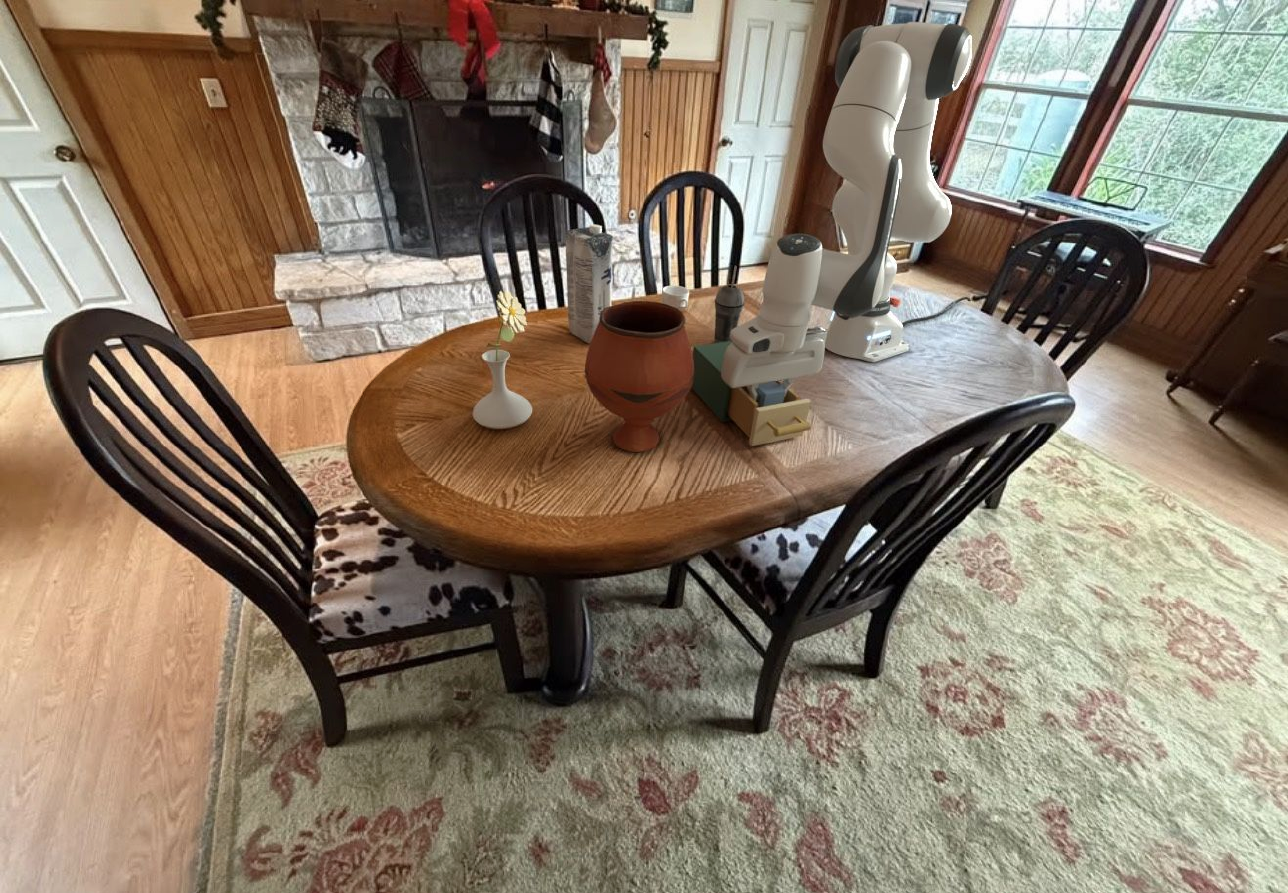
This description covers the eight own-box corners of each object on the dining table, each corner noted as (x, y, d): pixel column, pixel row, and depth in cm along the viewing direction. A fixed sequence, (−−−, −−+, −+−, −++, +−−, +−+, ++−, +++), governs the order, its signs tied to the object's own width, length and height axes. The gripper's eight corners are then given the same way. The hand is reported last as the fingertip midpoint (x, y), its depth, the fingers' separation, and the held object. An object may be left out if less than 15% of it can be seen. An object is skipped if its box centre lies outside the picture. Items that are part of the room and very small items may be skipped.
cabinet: (775, 411, 115) (784, 371, 109) (722, 421, 111) (728, 380, 105) (738, 377, 127) (744, 339, 121) (689, 385, 123) (693, 346, 117)
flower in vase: (504, 441, 102) (488, 314, 87) (461, 421, 107) (439, 297, 92) (550, 411, 111) (542, 291, 97) (508, 394, 116) (495, 277, 101)
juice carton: (587, 347, 136) (585, 234, 120) (564, 332, 142) (559, 223, 126) (615, 338, 141) (617, 229, 125) (592, 324, 147) (591, 218, 131)
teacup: (655, 305, 160) (657, 287, 157) (677, 301, 163) (679, 283, 160) (674, 318, 153) (676, 299, 150) (697, 313, 156) (699, 295, 153)
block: (769, 399, 109) (773, 379, 106) (781, 410, 106) (785, 390, 103) (750, 402, 108) (753, 382, 105) (761, 414, 104) (765, 394, 102)
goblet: (682, 413, 113) (694, 295, 98) (690, 470, 98) (706, 341, 83) (589, 410, 112) (587, 291, 98) (582, 468, 97) (579, 337, 82)
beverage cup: (705, 348, 139) (715, 269, 127) (713, 337, 144) (723, 260, 132) (733, 354, 136) (745, 274, 125) (740, 342, 142) (753, 265, 130)
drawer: (814, 447, 104) (824, 412, 99) (762, 458, 100) (770, 423, 95) (763, 399, 117) (769, 366, 113) (716, 407, 114) (720, 374, 109)
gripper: (818, 318, 103) (802, 383, 111) (722, 331, 97) (713, 398, 105) (839, 332, 99) (821, 398, 107) (740, 346, 92) (728, 415, 100)
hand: (766, 398), depth 106 cm, fingers closed on block, 4 cm apart
